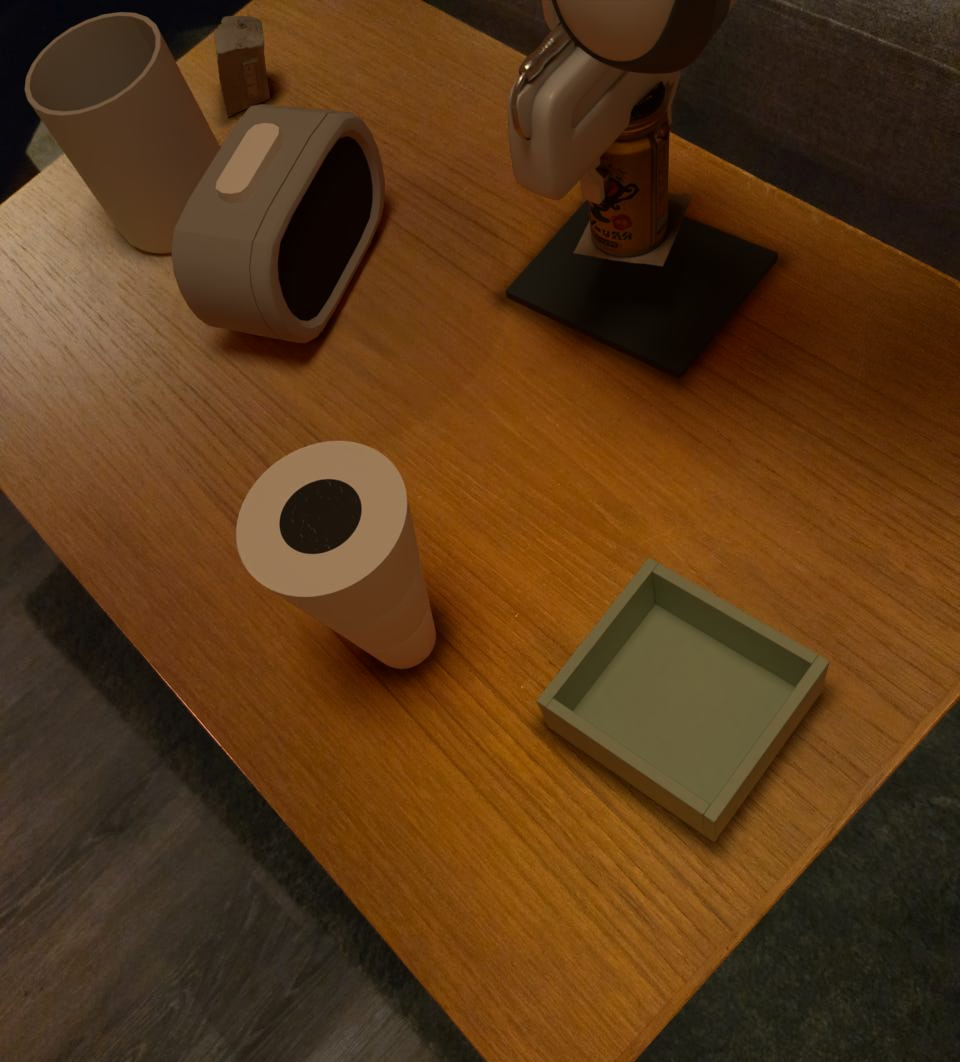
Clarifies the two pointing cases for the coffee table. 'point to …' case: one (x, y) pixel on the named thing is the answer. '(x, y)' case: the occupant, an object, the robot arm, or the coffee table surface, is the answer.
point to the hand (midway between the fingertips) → (627, 161)
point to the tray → (683, 696)
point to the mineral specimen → (241, 62)
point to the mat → (645, 291)
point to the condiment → (637, 192)
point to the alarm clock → (280, 222)
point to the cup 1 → (124, 122)
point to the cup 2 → (341, 547)
